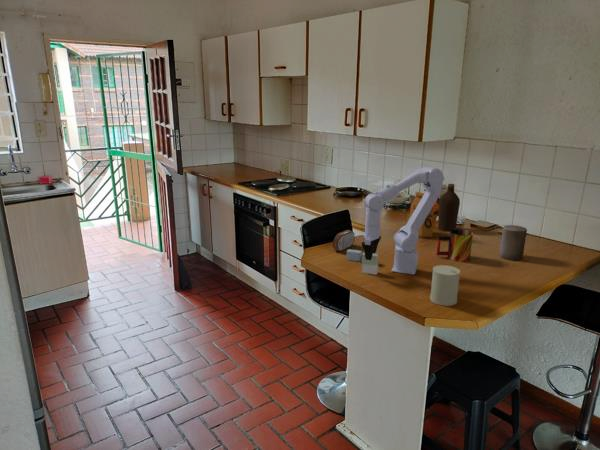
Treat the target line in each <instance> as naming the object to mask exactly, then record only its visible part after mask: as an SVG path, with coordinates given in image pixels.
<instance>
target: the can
mask: <svg viewBox="0 0 600 450" xmlns="http://www.w3.org/2000/svg"><path fill="white" fill-rule="evenodd" d="M460 275H461V270H460V269H459V268H457V267H455V266H451V265H446V264H444V265H443V264H439V265H435V266H433V267H432V277H431V288H430V296H429V300H430V302H433V303H434V304H435V305H438V306H444V307H445V306H446V307H449V306H455V305H456V304H457V303H458V292H459V283H460Z"/></svg>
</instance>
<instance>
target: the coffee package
mask: <svg viewBox="0 0 600 450" xmlns="http://www.w3.org/2000/svg"><path fill="white" fill-rule="evenodd" d="M414 194H415V197H414V199H413V201H412V202H411V205H410V213H409V218H410V217H411V216H412V214H413V212H414V211H415V209H416V207H417V205H418V204H419V202H420V200H421V199H422V197H423V195H424V194H425V192H424V193H423V192H420V191H416V192H415V193H414ZM434 225H435V210H434V206H433V207H432V209H431V211H430V212H429V214H428V216H427V217H426V219H425V221H424V222H423V224H422V226H421V227H420V229H419V231H418V235H419V237H420V238H422V239H425V238H432V237H433V233H434Z"/></svg>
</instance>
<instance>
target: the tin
mask: <svg viewBox="0 0 600 450" xmlns="http://www.w3.org/2000/svg"><path fill="white" fill-rule="evenodd" d="M355 235H356V234H355V232H354V231H352V230H350V229H346V230H343V231H340V232H339V233H337V234H336V235H335V237H334V239H333V241H332V248H333V249H334V250H335V251H338V252H342V251H344V250H348V249H349V248H350V247H352V246H353V244H354V242H355Z"/></svg>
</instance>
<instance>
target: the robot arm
mask: <svg viewBox="0 0 600 450" xmlns="http://www.w3.org/2000/svg"><path fill="white" fill-rule="evenodd" d="M444 180H445V176H444V173H443V171H442V170H441V169H439V168H436V167H433V166H430V165H427V164H426V165H422V166H420V167H419V168H416V169H415V170H414V171H413V172H412V173H410V174H409V175H407V176H406V177H405V178H403V179H401V180H400V181H397V182H396V183H395V184H393V183H390V184H388V183H387V184H385V185H384V187H382V188H381V189H379V190H376V191H374V193H368V195H366V197H365V199H364V200H363V204H364V206H365V222H364V232H363V233H362V234H361V236H362V237H364V241H362V242H361V247H362V249H363V252H364V253H365V258H366V260H371V259H372V255H373V253H375V254H377V249H378V247H379V243H380V240H381V239H382V236H380V229H381V228H380V226H381V225H380V223H381V211H382V209H383V207H384V206H385V205H386V204H387V203H389V202H390V201H393V200H394V199H396V198H398V196H399V194H400V192H402V191H404V190H406V189H408V188H410V187H412V186H413V185H416V184H423V187H424V190H425V192H424V195H423V197H422V199H421V200H420V202H419V204H418V205H417V207H416V209H415V211H414V212H413V214H412V216H411V217H410V216H409V219H408V221H407V222H406V224H405V225H403V226H401V228H400V229H399V230H398V231H397V232H395V233H394V235H393V239H392V240H393V243H394V244H395V248H394V257H393V258H394V260H393V266H392V269H391V272H395V273H400V274H408V275H413V276H414V275H415V274H416V273H417V270H418V261H419V260H418V259H419V251H418V250H415V249H416V248H417V243H418V240H419V235H418V231H419V229H420V227H421V226H422V224H423V222H424V221H425V219H426V217H427V216H428V214H429V212H430V211H431V209H432V207H433V208H434V206H435V204H436V202H437V200H438V199H439V197H440V195H441V193H442V186H443V182H444Z"/></svg>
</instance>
